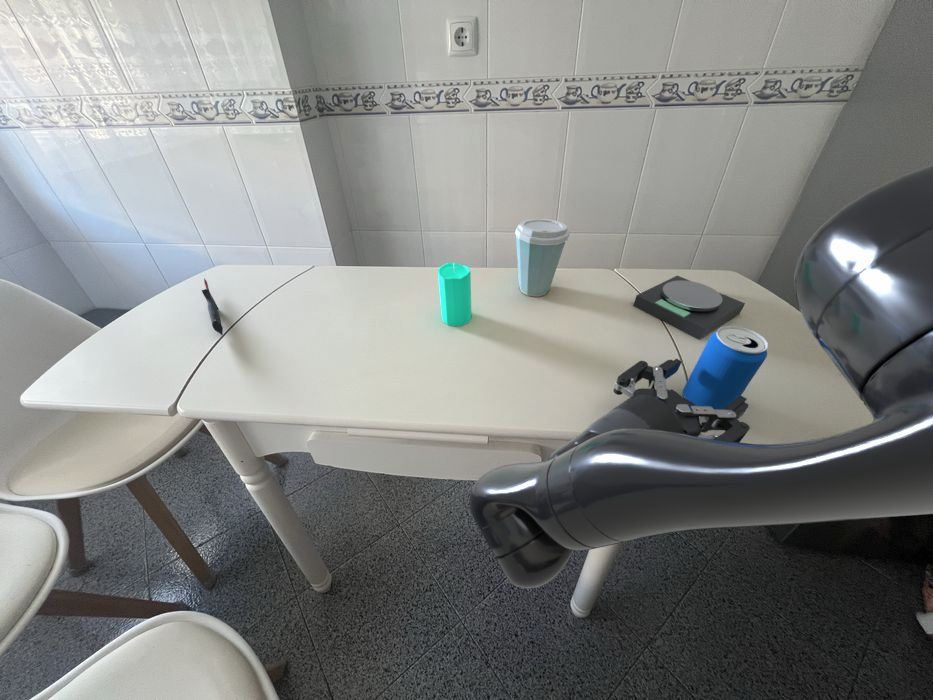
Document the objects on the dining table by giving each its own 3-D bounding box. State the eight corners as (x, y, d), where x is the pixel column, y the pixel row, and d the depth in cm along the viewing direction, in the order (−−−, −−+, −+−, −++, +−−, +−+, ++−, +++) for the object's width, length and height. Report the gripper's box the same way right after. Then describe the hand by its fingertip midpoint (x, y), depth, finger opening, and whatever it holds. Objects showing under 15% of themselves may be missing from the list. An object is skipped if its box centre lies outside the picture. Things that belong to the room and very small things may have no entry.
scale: (699, 339, 66) (705, 327, 64) (633, 305, 75) (636, 294, 73) (739, 314, 71) (745, 302, 70) (673, 285, 80) (677, 274, 79)
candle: (437, 313, 74) (432, 259, 66) (463, 306, 76) (461, 252, 68) (448, 329, 70) (444, 273, 62) (476, 321, 72) (476, 265, 64)
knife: (227, 336, 70) (215, 314, 67) (219, 339, 69) (206, 317, 66) (213, 286, 85) (202, 267, 82) (206, 288, 85) (195, 269, 81)
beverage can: (725, 426, 51) (769, 361, 43) (676, 405, 54) (708, 342, 46) (733, 398, 55) (774, 334, 47) (686, 380, 58) (718, 318, 50)
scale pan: (701, 282, 75) (702, 278, 75) (733, 309, 67) (735, 306, 67) (652, 285, 75) (653, 281, 74) (678, 313, 67) (679, 309, 66)
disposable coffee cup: (511, 277, 85) (515, 213, 75) (557, 278, 84) (568, 213, 74) (511, 301, 77) (515, 232, 67) (562, 303, 76) (574, 233, 66)
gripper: (702, 466, 34) (782, 394, 41) (586, 381, 44) (667, 333, 50) (675, 506, 39) (751, 435, 46) (576, 421, 48) (651, 372, 55)
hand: (707, 382), depth 48 cm, fingers open, 8 cm apart
